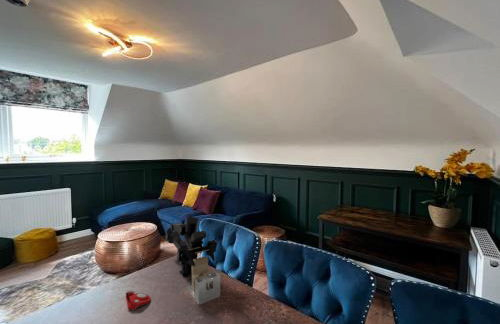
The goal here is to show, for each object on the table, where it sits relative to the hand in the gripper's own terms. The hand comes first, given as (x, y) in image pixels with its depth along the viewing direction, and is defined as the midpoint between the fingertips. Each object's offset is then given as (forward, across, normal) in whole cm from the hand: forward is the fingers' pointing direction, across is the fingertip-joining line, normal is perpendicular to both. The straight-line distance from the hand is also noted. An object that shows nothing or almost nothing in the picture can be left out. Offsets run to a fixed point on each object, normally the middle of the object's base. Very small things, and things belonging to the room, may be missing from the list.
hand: (204, 262), depth 103 cm
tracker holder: (-7, -26, +18) cm, 32 cm away
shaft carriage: (+2, 0, +14) cm, 14 cm away
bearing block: (+3, 0, +14) cm, 15 cm away
